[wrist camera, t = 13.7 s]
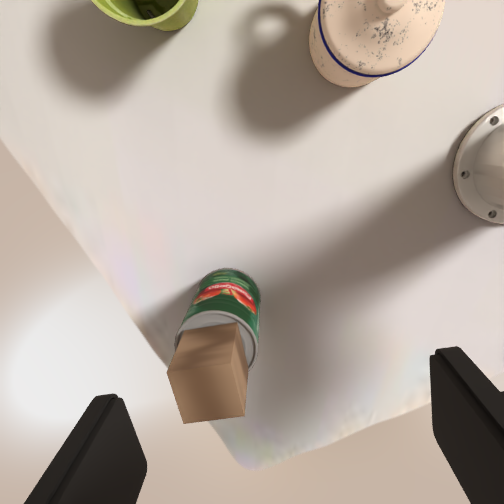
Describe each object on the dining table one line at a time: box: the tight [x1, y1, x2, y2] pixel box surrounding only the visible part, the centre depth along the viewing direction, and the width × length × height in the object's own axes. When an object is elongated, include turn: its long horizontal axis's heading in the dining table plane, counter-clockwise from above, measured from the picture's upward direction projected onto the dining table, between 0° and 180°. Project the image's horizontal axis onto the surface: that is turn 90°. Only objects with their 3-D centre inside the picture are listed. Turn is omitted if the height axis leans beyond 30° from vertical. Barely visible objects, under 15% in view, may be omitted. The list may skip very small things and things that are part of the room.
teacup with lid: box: [309, 0, 445, 87], centre depth 28 cm, size 12×9×12 cm
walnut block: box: [167, 322, 248, 424], centre depth 30 cm, size 5×5×6 cm
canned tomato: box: [175, 268, 261, 372], centre depth 38 cm, size 8×8×11 cm
